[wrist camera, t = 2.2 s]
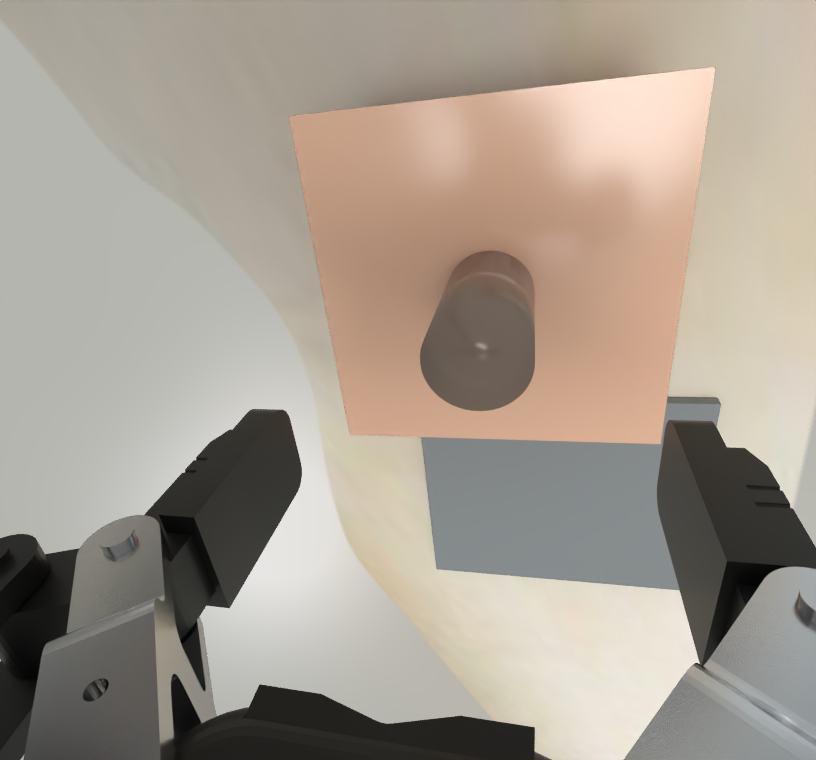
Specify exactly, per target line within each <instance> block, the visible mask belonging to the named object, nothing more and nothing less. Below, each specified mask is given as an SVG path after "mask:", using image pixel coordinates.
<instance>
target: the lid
mask: <svg viewBox="0 0 816 760" xmlns="http://www.w3.org/2000/svg"><path fill="white" fill-rule="evenodd" d="M714 73H715V67H705V68H696V69H688V70H679V71H670V72H662V73H653V74H645V75H636V76H627V77H619V78H610V79H602V80H593V81H584V82H576V83H567V84H559V85H550V86H541V87H533V88H524V89H516V90H507V91H498V92H490V93H481V94H472V95H464V96H455V97H447V98H438V99H429V100H421V101H412V102H404V103H395V104H386V105H378V106H369V107H361V108H352V109H343V110H335V111H326V112H318V113H309V114H300V115H294V116H289V121H290V126H291V131H292V136H293V142H294V147H295V152H296V157H297V163H298V168H299V173H300V178H301V183H302V189H303V194H304V199H305V204H306V209H307V215H308V220H309V225H310V230H311V235H312V241H313V246H314V251H315V256H316V262H317V267H318V272H319V277H320V282H321V288H322V293H323V298H324V303H325V308H326V314H327V319H328V324H329V329H330V334H331V340H332V345H333V350H334V355H335V361H336V366H337V371H338V376H339V381H340V387H341V392H342V397H343V402H344V407H345V413H346V418H347V423H348V428H349V433H350V435H372V436H405V437H439V438H472V439H506V440H539V441H572V442H606V443H639V444H661V437H662V430H663V423H664V417H665V410H666V403H667V396H668V389H669V382H670V375H671V369H672V362H673V355H674V348H675V341H676V334H677V327H678V321H679V314H680V307H681V300H682V293H683V286H684V279H685V272H686V266H687V259H688V252H689V245H690V238H691V231H692V224H693V218H694V211H695V204H696V197H697V190H698V183H699V176H700V170H701V163H702V156H703V149H704V142H705V135H706V128H707V122H708V115H709V108H710V101H711V94H712V87H713V80H714Z"/></svg>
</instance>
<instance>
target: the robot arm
mask: <svg viewBox="0 0 816 760" xmlns="http://www.w3.org/2000/svg"><path fill="white" fill-rule="evenodd" d="M301 476H302V468H301V462H300V458H299V454H298V450H297V446H296V442H295V438H294V434H293V430H292V426H291V422H290V418H289V416H288V414H287V412H286V411H284V410H267V409H252V410H250V411H249V412H248V413H247V414H246V415H245V416H244V417H243V418H242V420H241V421H240V422H239V423H238V424H237V425H236V426H235V428H234V429H233V430H229V431H227V432H225V433H224V434H223V435H221V436H219V437H218V438H216V439H215V440H213V441H211V442H210V443H209V444H208V445H207V446H206V447H205V448H204V450H203V451H202V452H201V453H200V454H199V455H198V456H197V457H196V461H195V460H194V461H193V462H192V463H191V464H190V465H189V466H188V467H187V468H186V469H185V473H182V474H181V475H180V476H179V477H178V478H177V479H176V480H175V482H174V483H173V484H172V485H171V486H170V487H169V488H168V489H167V490H166V491H165V493H164V494H163V495H162V496H161V497H160V498H159V499H158V500H157V501H156V503H155V504H154V505H153V506H152V507H151V508H150V509H149V510H148V511H147V512H146V514H145V515H135V516H129V517H125V518H122V519H119V520H116V521H113V522H111V523H109V524H107V525H105V526H104V527H102V528H100V529H99V530H97V531H96V532H95V533H94V534H92V535H91V536H90V537H89V538H88V539H87V540H86V541H85V542H84V543H83V545H82V546H81V547H80V548H79V549H74V550H68V551H62V552H57V553H51V554H44V552H43V550H42V548H41V547H40V545H39V544H38V542H37V540H36V538H34V537H33V536H30V535H27V534H26V535H25V534H17V535H11V536H7V537H3V538H0V659H1V662H0V760H20V759H21V758H22V756H23V755H24V760H551V759H549V758H547V757H545V756H542V755H540V754H538V753H536V752H534V740H535V727H528V726H522V725H516V724H509V723H503V722H496V721H490V720H484V719H477V718H471V717H464V716H455V717H447V718H438V719H429V720H420V721H412V722H402V723H394V724H384V723H380V722H377V721H375V720H373V719H371V718H369V717H367V716H365V715H363V714H361V713H359V712H357V711H354V710H353V709H351V708H348V707H346V706H344V705H342V704H340V703H338V702H336V701H334V700H332V699H330V698H328V697H326V696H324V695H322V694H317V693H311V692H304V691H297V690H291V689H285V688H278V687H272V686H266V685H259V687H258V689H257V691H256V693H255V696H254V698H253V700H252V702H251V704H250V706H249V708H243V709H239V710H235V711H231V712H227V713H225V714H222V715H219V716H217V715H216V711H215V706H214V701H213V694H212V687H211V680H210V673H209V666H208V658H207V651H206V644H205V637H204V630H203V625H202V622H201V619H200V617H199V616H200V615H201V613H202V611H203V610H204V608H205V606H206V605H207V606H216V607H225V608H230V606H231V605H232V603H233V601H234V599H235V598H236V596H237V594H238V593H239V591H240V589H241V587H242V586H243V584H244V582H245V581H246V579H247V577H248V575H249V574H250V572H251V570H252V569H253V567H254V565H255V564H256V562H257V560H258V558H259V557H260V555H261V553H262V552H263V550H264V548H265V546H266V545H267V543H268V541H269V540H270V538H271V536H272V534H273V533H274V531H275V529H276V528H277V526H278V524H279V523H280V521H281V519H282V517H283V516H284V514H285V512H286V510H287V509H288V507H289V505H290V504H291V502H292V500H293V499H294V497H295V495H296V493H297V492H298V489H299V487H300V483H301ZM657 505H658V512H659V517H660V520H661V524H662V528H663V531H664V535H665V538H666V542H667V546H668V549H669V553H670V557H671V560H672V564H673V567H674V571H675V575H676V578H677V582H678V586H679V589H680V593H681V596H682V600H683V604H684V607H685V611H686V615H687V618H688V622H689V626H690V629H691V633H692V636H693V640H694V644H695V647H696V651H697V655H698V658H699V662H700V664H698V663H695V664H694V665H692V666H691V667H690V668H689V669H688V670H687V672H686V673H685V674H684V676H683V677H682V678H681V680H680V681H679V682H678V684H677V685H676V687H675V688H674V689H673V691H672V692H671V694H670V695H669V697H668V698H667V699H666V701H665V702H664V704H663V705H662V706H661V708H660V709H659V711H658V712H657V714H656V715H655V716H654V718H653V719H652V721H651V722H650V723H649V725H648V726H647V728H646V729H645V730H644V732H643V733H642V735H641V736H640V738H639V739H638V740H637V742H636V743H635V745H634V746H633V747H632V749H631V750H630V752H629V753H628V754H627V756H626V757H625V759H624V760H816V547H815V545H814V544H813V542H812V540H811V539H810V537H809V535H808V534H807V532H806V530H805V528H804V527H803V525H802V523H801V522H800V520H799V519H798V517H797V515H796V513H795V512H794V510H793V509H792V508H790V503H789V501H788V500H787V498H786V496H785V495H784V493H783V491H780V486H779V484H778V483H777V481H776V479H775V478H774V476H773V474H772V473H771V471H770V469H769V468H768V466H767V465H766V464H764V463H763V462H762V461H760V460H759V459H758V458H757V457H755V456H754V455H753V454H751V453H750V452H749V451H748V450H746V449H745V448H727V447H726V445H725V443H724V441H723V439H722V437H721V435H720V433H719V431H718V429H717V427H716V426H715V424H714V423H713V422H712V421H698V420H669V421H668V422H667V424H666V428H665V433H664V440H663V447H662V454H661V461H660V468H659V475H658V482H657Z"/></svg>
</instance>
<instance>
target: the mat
mask: <svg viewBox="0 0 816 760" xmlns="http://www.w3.org/2000/svg"><path fill="white" fill-rule="evenodd" d="M720 407H721V403H720V402H719V400H718V398H667V403H666V410H665V417H664V423H663V430H662V437H661V444H639V443H606V442H572V441H539V440H506V439H472V438H439V437H421V438H422V446H423V455H424V464H425V472H426V481H427V490H428V499H429V507H430V516H431V525H432V534H433V542H434V551H435V560H436V568H437V569H441V570H453V571H464V572H476V573H487V574H499V575H510V576H522V577H533V578H545V579H556V580H568V581H579V582H591V583H603V584H614V585H626V586H637V587H649V588H660V589H672V590H680V589H679V586H678V582H677V578H676V575H675V571H674V567H673V564H672V560H671V557H670V553H669V549H668V546H667V542H666V538H665V535H664V531H663V528H662V524H661V520H660V517H659V512H658V505H657V482H658V475H659V468H660V461H661V454H662V447H663V440H664V433H665V428H666V424H667V422H668V421H669V420H698V421H712V422H713V423H714V424H715V426H717V421H718V416H719V412H720Z"/></svg>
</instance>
